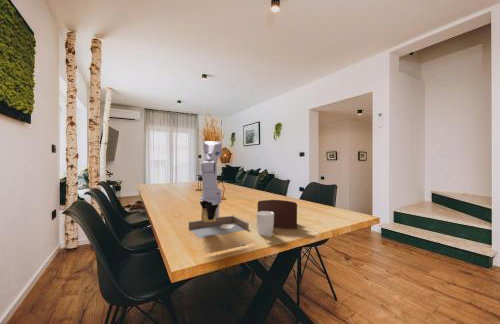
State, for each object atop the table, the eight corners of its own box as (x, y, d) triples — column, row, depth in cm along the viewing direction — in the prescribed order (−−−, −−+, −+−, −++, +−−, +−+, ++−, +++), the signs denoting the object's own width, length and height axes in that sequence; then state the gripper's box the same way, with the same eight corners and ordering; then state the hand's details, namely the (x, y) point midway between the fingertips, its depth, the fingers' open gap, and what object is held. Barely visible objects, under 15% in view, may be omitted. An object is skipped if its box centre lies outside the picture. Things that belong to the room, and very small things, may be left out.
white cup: (276, 234, 99) (277, 212, 99) (269, 239, 92) (269, 216, 92) (261, 231, 103) (261, 210, 103) (253, 236, 96) (253, 213, 96)
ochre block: (201, 219, 98) (201, 208, 98) (211, 218, 100) (211, 207, 100) (205, 222, 94) (205, 211, 94) (215, 221, 96) (216, 209, 96)
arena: (188, 230, 103) (188, 221, 103) (233, 222, 116) (233, 215, 116) (199, 240, 90) (199, 231, 90) (248, 231, 102) (248, 223, 102)
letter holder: (297, 229, 106) (297, 201, 106) (257, 227, 109) (257, 199, 109) (296, 223, 116) (296, 197, 115) (259, 221, 119) (259, 196, 119)
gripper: (195, 186, 101) (195, 215, 101) (205, 190, 89) (205, 223, 89) (209, 185, 105) (209, 213, 105) (221, 189, 92) (221, 221, 92)
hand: (208, 218), depth 97 cm, fingers closed on ochre block, 5 cm apart
